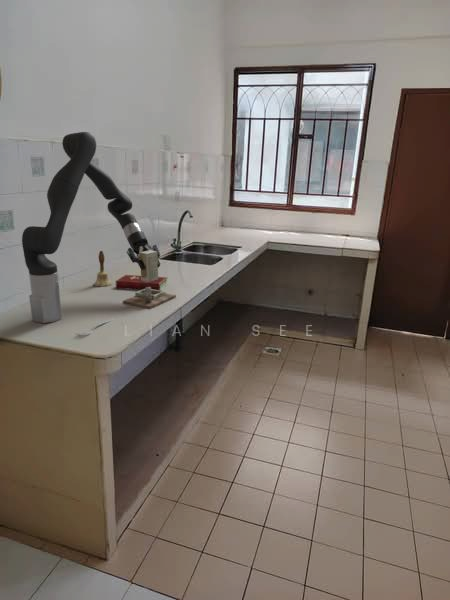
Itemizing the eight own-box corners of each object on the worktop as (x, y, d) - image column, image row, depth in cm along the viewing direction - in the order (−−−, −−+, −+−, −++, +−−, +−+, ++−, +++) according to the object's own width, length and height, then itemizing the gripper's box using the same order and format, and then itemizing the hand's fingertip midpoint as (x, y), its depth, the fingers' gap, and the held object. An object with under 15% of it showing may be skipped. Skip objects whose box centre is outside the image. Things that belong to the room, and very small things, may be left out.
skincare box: (151, 277, 183) (151, 249, 179) (158, 279, 180) (158, 251, 177) (140, 280, 178) (139, 251, 174) (147, 282, 176) (146, 253, 172)
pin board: (150, 308, 167) (150, 291, 165) (122, 303, 173) (122, 286, 171) (175, 297, 183) (175, 281, 181) (149, 292, 189) (148, 277, 187)
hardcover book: (159, 292, 191) (159, 283, 190) (116, 289, 194) (115, 280, 193) (167, 285, 203) (167, 276, 201) (126, 282, 206) (125, 274, 204)
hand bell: (101, 281, 205) (98, 248, 200) (115, 283, 202) (113, 250, 198) (90, 285, 198) (87, 251, 193) (104, 287, 195) (102, 253, 190)
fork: (122, 316, 159) (122, 312, 158) (82, 339, 137) (82, 334, 136) (114, 315, 160) (114, 311, 159) (74, 338, 138) (73, 333, 137)
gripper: (123, 232, 174) (139, 265, 169) (152, 229, 183) (169, 260, 178) (117, 243, 179) (133, 275, 174) (146, 239, 188) (162, 270, 184)
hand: (151, 267), depth 176 cm, fingers closed on skincare box, 6 cm apart
